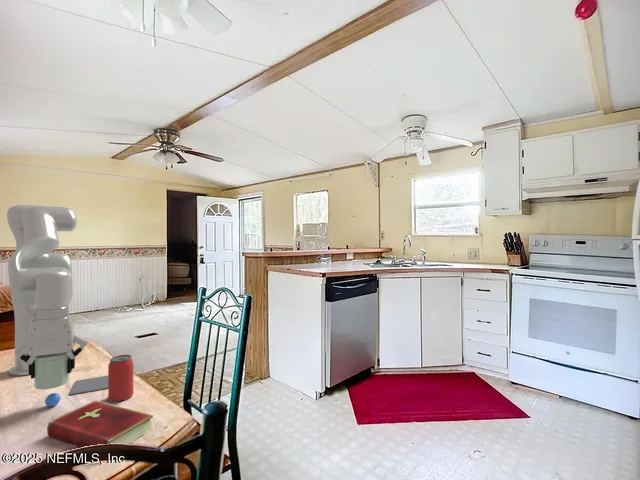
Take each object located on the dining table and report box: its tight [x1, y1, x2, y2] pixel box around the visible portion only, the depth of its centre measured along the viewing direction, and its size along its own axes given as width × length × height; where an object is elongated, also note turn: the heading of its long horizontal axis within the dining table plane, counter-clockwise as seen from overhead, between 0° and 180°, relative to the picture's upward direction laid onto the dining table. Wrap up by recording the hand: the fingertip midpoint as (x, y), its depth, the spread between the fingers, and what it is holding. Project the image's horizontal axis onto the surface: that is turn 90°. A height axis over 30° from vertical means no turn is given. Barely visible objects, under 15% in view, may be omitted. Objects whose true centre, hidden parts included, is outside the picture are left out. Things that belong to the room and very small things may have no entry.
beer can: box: [107, 354, 134, 403], centre depth 101 cm, size 7×7×12 cm
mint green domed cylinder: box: [33, 353, 70, 391], centre depth 96 cm, size 8×8×8 cm
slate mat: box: [69, 375, 108, 396], centre depth 109 cm, size 11×11×1 cm
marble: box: [44, 392, 61, 407], centre depth 96 cm, size 4×4×4 cm
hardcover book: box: [46, 400, 154, 449], centre depth 82 cm, size 12×21×4 cm, turn 69°
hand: (52, 373), depth 96 cm, fingers closed on mint green domed cylinder, 7 cm apart
